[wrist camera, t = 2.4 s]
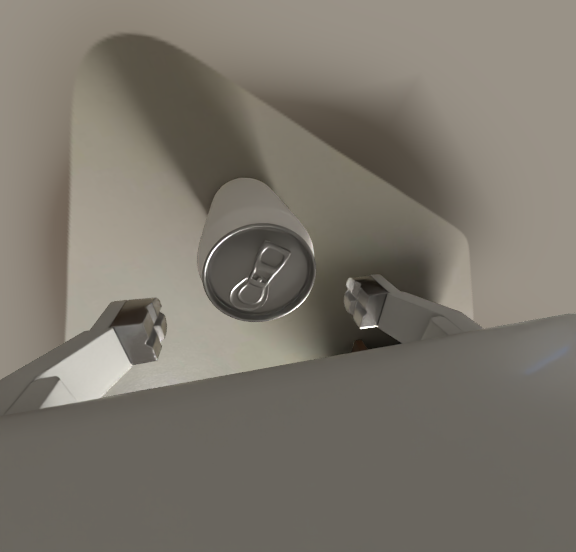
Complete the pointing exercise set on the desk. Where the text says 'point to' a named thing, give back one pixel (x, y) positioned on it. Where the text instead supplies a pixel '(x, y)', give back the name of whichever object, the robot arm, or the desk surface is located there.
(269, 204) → the can
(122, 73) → the desk surface
